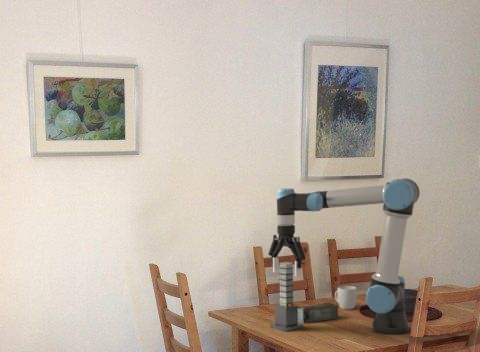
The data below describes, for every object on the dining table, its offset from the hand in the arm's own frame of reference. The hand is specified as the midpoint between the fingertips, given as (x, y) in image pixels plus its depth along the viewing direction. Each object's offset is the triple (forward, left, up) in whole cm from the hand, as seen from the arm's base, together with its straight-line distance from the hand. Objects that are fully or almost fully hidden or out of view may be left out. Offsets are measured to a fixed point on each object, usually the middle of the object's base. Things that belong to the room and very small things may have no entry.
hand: (286, 274), depth 307 cm
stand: (0, 0, -23) cm, 23 cm away
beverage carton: (+3, -21, -23) cm, 32 cm away
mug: (+10, -48, -23) cm, 55 cm away
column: (0, 0, -15) cm, 15 cm away
